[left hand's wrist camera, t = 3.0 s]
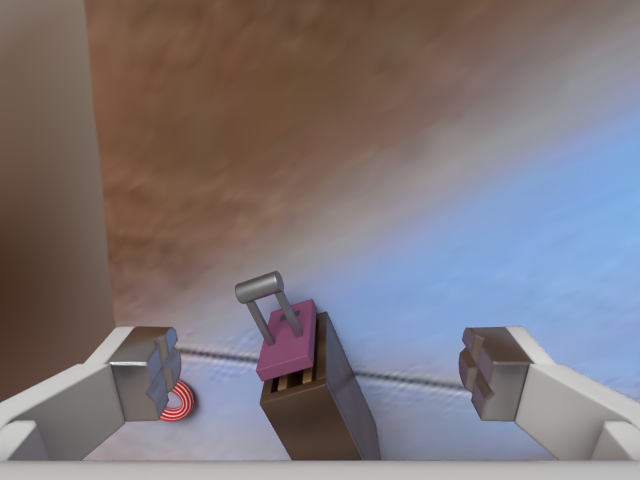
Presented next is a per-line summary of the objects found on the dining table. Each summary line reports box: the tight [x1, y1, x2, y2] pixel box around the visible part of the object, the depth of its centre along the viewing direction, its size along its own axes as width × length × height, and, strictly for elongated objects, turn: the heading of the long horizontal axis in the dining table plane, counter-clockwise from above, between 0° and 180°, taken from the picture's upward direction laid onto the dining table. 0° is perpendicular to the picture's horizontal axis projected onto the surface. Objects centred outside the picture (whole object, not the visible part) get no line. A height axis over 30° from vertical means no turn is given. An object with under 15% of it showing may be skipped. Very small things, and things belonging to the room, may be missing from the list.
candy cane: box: [159, 380, 194, 422], centre depth 41 cm, size 6×15×2 cm, turn 67°
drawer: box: [235, 271, 318, 391], centre depth 34 cm, size 22×4×8 cm, turn 21°
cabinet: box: [260, 312, 381, 461], centre depth 36 cm, size 17×6×10 cm, turn 21°
